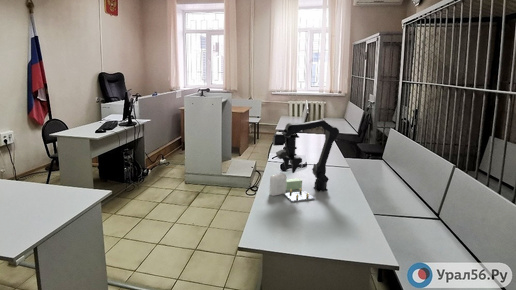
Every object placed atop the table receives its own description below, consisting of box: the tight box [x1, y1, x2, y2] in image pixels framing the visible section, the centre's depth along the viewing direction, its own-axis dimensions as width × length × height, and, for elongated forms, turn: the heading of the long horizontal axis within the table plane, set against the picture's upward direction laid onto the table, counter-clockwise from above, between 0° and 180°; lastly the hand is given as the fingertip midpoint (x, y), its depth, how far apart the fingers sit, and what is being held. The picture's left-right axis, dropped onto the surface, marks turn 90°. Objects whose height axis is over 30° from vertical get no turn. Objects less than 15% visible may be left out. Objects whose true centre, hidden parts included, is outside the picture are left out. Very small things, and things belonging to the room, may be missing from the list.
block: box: [286, 177, 303, 191], centre depth 201 cm, size 10×4×6 cm, turn 110°
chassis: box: [283, 187, 315, 203], centre depth 187 cm, size 14×11×4 cm
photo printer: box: [268, 172, 288, 197], centre depth 190 cm, size 10×4×12 cm, turn 123°
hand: (289, 170), depth 195 cm, fingers open, 9 cm apart
